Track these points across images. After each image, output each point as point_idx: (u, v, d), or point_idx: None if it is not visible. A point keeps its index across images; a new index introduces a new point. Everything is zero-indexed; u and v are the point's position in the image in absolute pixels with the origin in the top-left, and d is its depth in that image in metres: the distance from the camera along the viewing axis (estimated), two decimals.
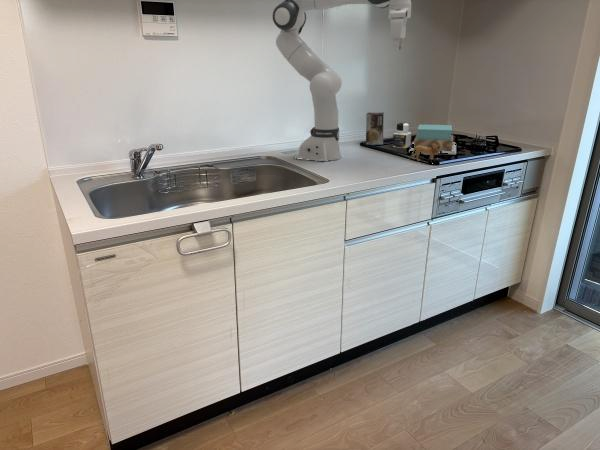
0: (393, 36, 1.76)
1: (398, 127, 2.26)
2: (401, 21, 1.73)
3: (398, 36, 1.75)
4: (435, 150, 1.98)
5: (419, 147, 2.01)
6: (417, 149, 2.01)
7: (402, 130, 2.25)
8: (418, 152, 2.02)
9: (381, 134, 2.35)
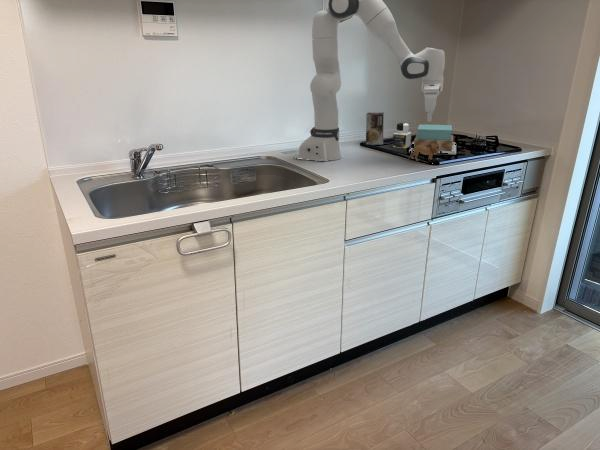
0: (427, 110, 1.86)
1: (398, 127, 2.26)
2: (435, 97, 1.84)
3: (432, 110, 1.86)
4: (434, 150, 1.99)
5: (418, 147, 2.01)
6: (416, 149, 2.02)
7: (402, 130, 2.25)
8: (417, 152, 2.02)
9: (381, 134, 2.35)
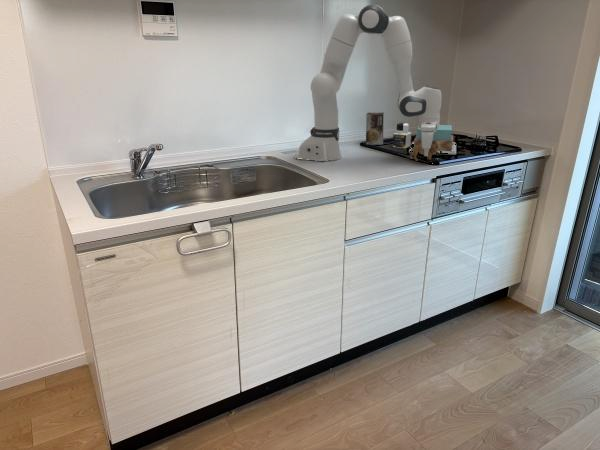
0: (424, 147, 1.92)
1: (398, 127, 2.26)
2: (431, 135, 1.90)
3: (428, 147, 1.92)
4: (433, 150, 1.99)
5: (417, 147, 2.01)
6: (415, 149, 2.02)
7: (402, 130, 2.25)
8: (416, 152, 2.02)
9: (381, 134, 2.35)
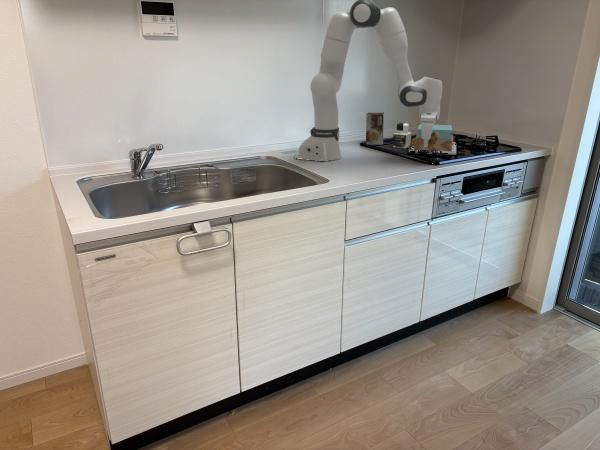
0: (423, 138, 1.91)
1: (398, 127, 2.26)
2: (431, 125, 1.89)
3: (428, 138, 1.90)
4: (432, 142, 1.98)
5: (416, 139, 2.00)
6: (414, 142, 2.01)
7: (402, 130, 2.25)
8: (415, 144, 2.01)
9: (381, 134, 2.35)
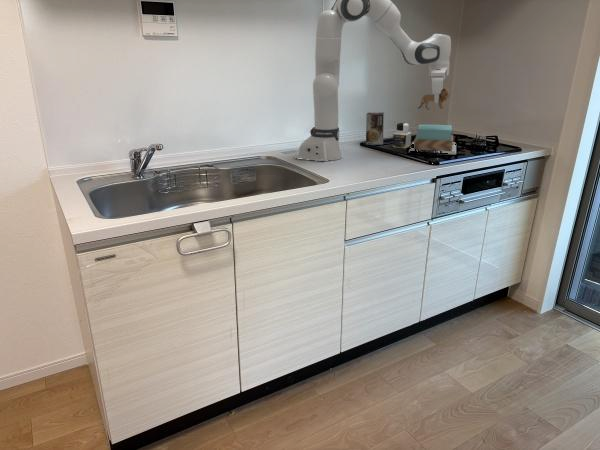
0: (434, 92, 2.00)
1: (398, 127, 2.26)
2: (441, 80, 1.98)
3: (438, 92, 2.00)
4: (443, 97, 2.07)
5: (427, 96, 2.09)
6: (425, 98, 2.10)
7: (402, 130, 2.25)
8: (427, 101, 2.10)
9: (381, 134, 2.35)
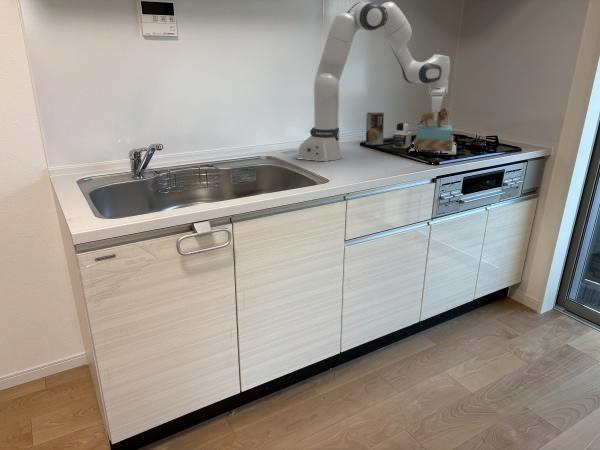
0: (433, 110, 2.09)
1: (398, 127, 2.26)
2: (441, 99, 2.07)
3: (438, 110, 2.08)
4: (442, 116, 2.18)
5: (428, 114, 2.20)
6: (426, 116, 2.20)
7: (402, 130, 2.25)
8: (427, 119, 2.21)
9: (381, 134, 2.35)
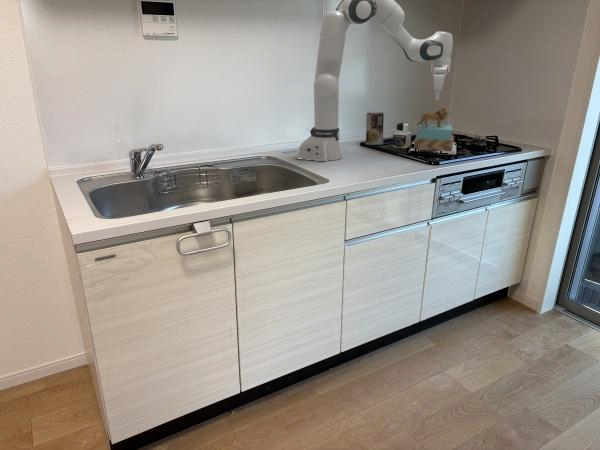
0: (435, 88, 2.05)
1: (398, 127, 2.26)
2: (443, 76, 2.03)
3: (440, 89, 2.05)
4: (442, 116, 2.19)
5: (427, 114, 2.21)
6: (425, 115, 2.21)
7: (402, 130, 2.25)
8: (426, 118, 2.22)
9: (381, 134, 2.35)
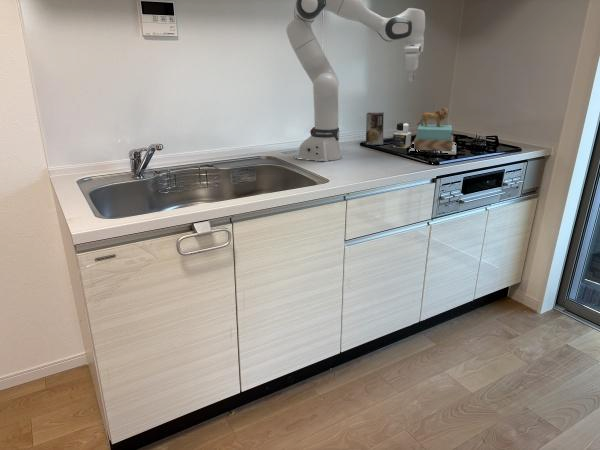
0: (407, 69, 1.93)
1: (398, 127, 2.26)
2: (415, 56, 1.91)
3: (412, 69, 1.93)
4: (442, 116, 2.19)
5: (427, 114, 2.21)
6: (425, 115, 2.22)
7: (402, 130, 2.25)
8: (426, 118, 2.22)
9: (381, 134, 2.35)
